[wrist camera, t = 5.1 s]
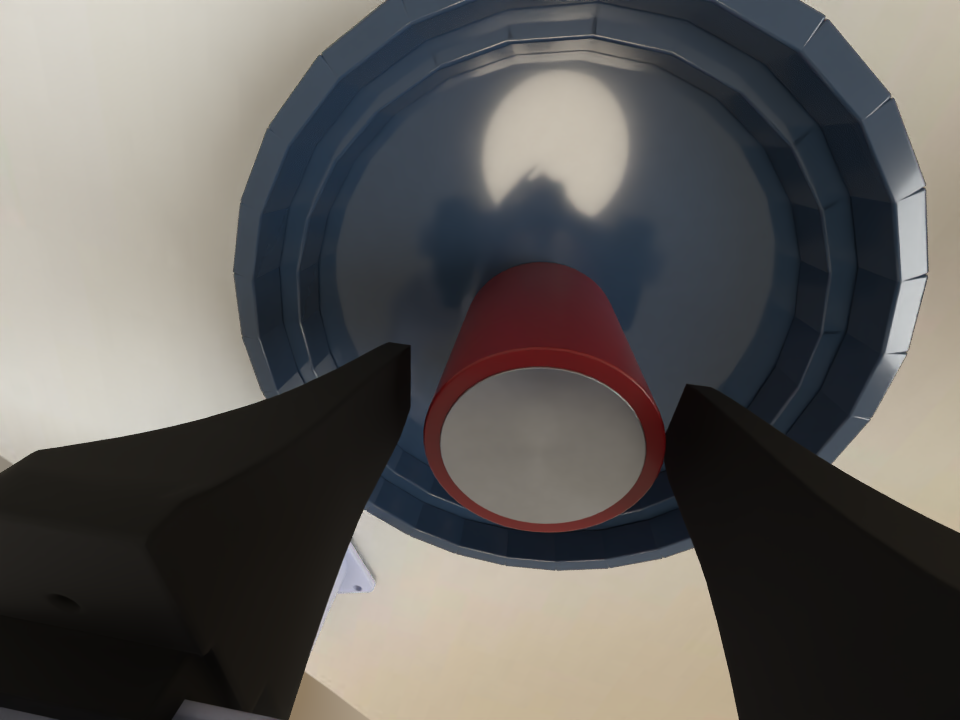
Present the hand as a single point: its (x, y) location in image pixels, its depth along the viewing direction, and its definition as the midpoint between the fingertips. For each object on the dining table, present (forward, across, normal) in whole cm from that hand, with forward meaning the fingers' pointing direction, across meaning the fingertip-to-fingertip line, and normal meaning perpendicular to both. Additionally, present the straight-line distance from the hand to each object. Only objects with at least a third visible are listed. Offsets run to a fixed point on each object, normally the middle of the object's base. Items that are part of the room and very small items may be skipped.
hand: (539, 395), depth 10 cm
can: (+4, 0, 0) cm, 4 cm away
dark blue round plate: (+4, 0, 0) cm, 4 cm away
